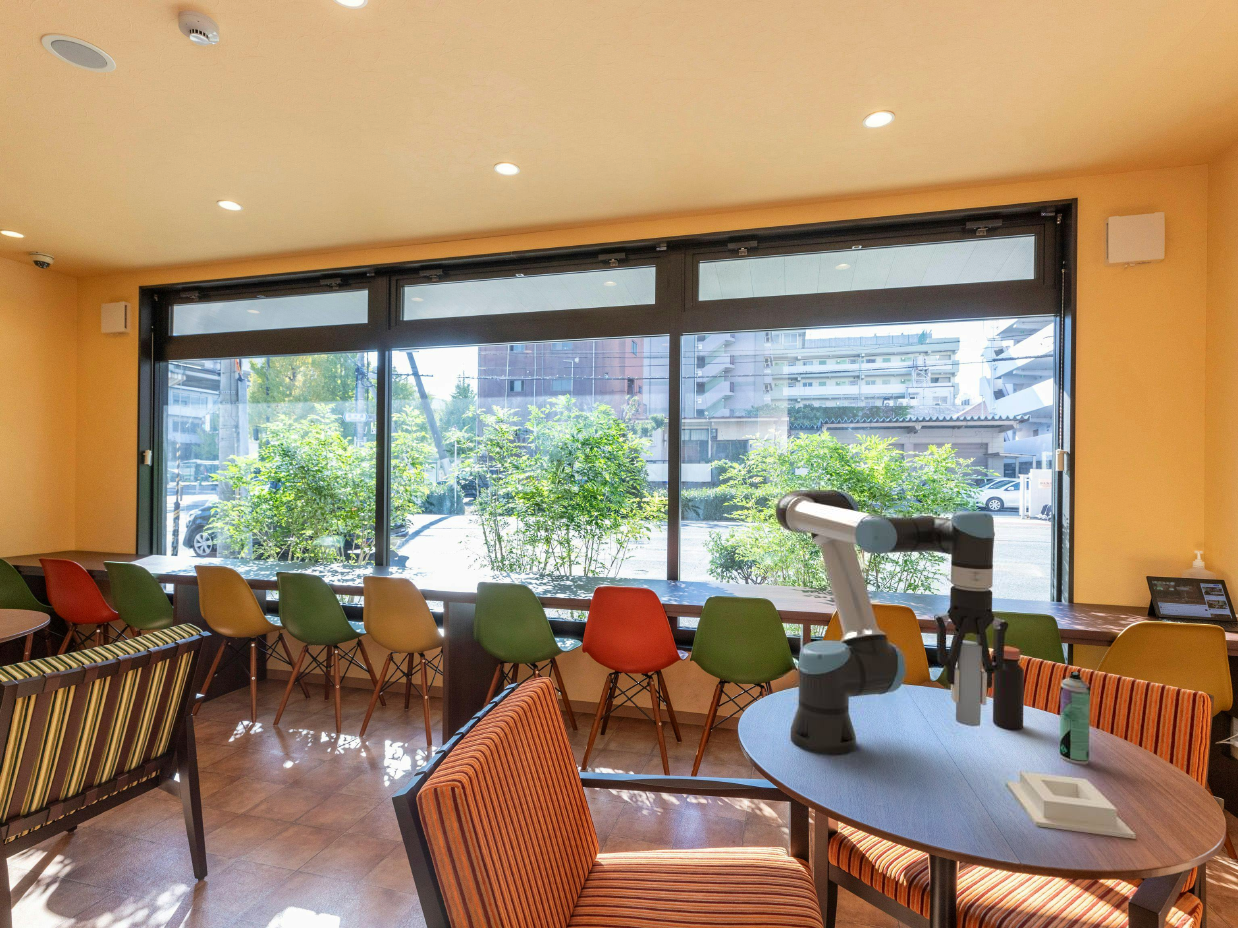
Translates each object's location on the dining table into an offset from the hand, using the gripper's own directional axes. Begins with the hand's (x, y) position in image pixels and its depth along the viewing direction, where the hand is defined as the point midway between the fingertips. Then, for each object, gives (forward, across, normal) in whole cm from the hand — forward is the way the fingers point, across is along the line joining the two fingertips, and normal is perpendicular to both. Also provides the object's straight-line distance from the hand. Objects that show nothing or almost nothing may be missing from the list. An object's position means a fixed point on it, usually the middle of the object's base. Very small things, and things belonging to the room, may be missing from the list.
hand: (968, 700), depth 131 cm
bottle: (+20, +21, +42) cm, 51 cm away
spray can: (+19, +29, +24) cm, 43 cm away
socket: (+19, +17, -2) cm, 26 cm away
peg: (+4, 0, 0) cm, 4 cm away
